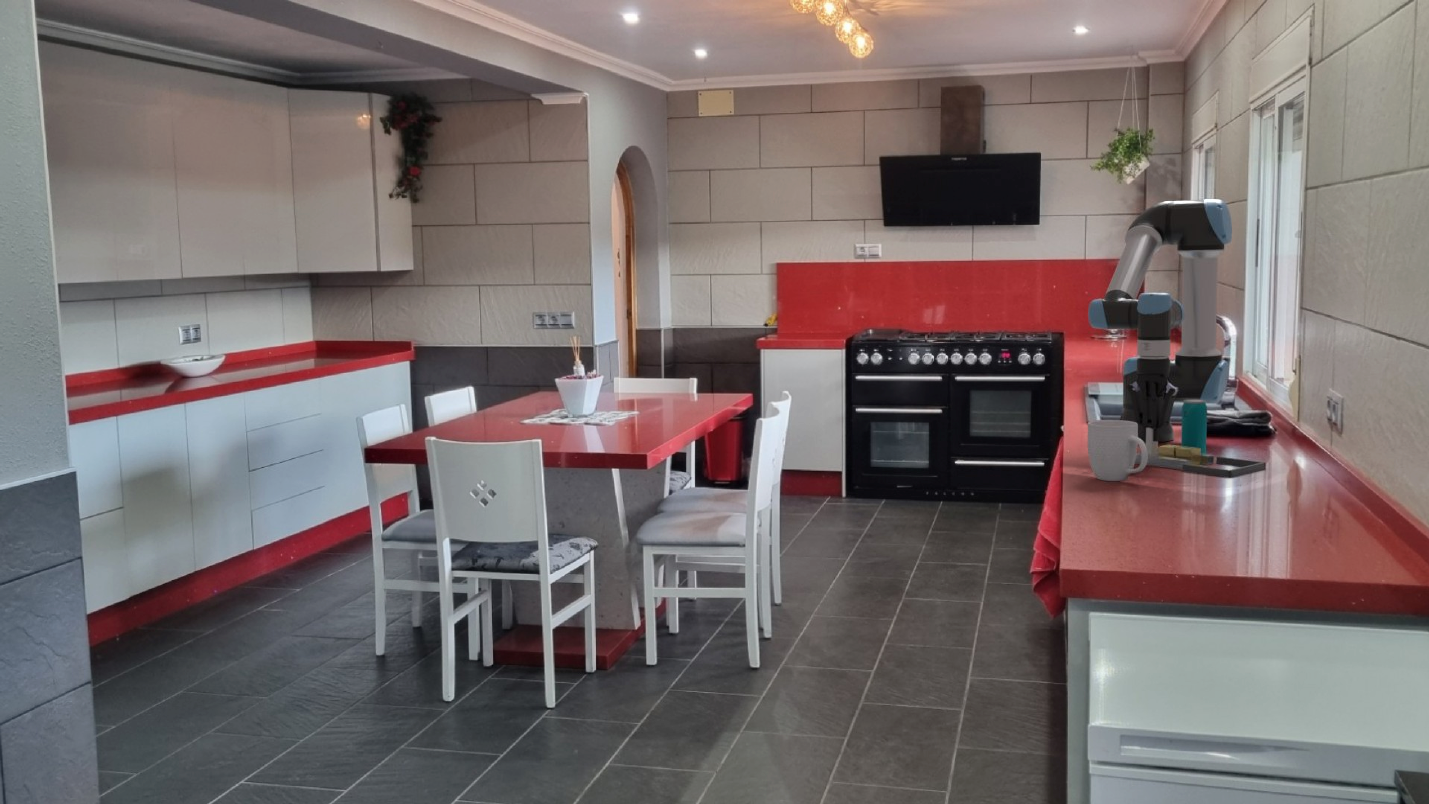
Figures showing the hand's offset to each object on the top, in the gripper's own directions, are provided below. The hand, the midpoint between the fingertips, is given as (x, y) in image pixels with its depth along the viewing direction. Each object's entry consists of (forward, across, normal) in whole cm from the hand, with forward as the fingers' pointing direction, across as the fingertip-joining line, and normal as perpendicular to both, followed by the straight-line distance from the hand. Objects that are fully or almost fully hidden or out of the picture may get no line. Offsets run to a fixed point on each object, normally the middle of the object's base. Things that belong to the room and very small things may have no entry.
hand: (1151, 454), depth 297 cm
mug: (+3, +4, -20) cm, 20 cm away
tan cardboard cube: (+2, +10, 0) cm, 10 cm away
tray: (+3, +19, 0) cm, 19 cm away
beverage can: (+3, +2, +14) cm, 15 cm away
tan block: (+2, +5, 0) cm, 5 cm away
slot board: (+3, +4, 0) cm, 5 cm away
